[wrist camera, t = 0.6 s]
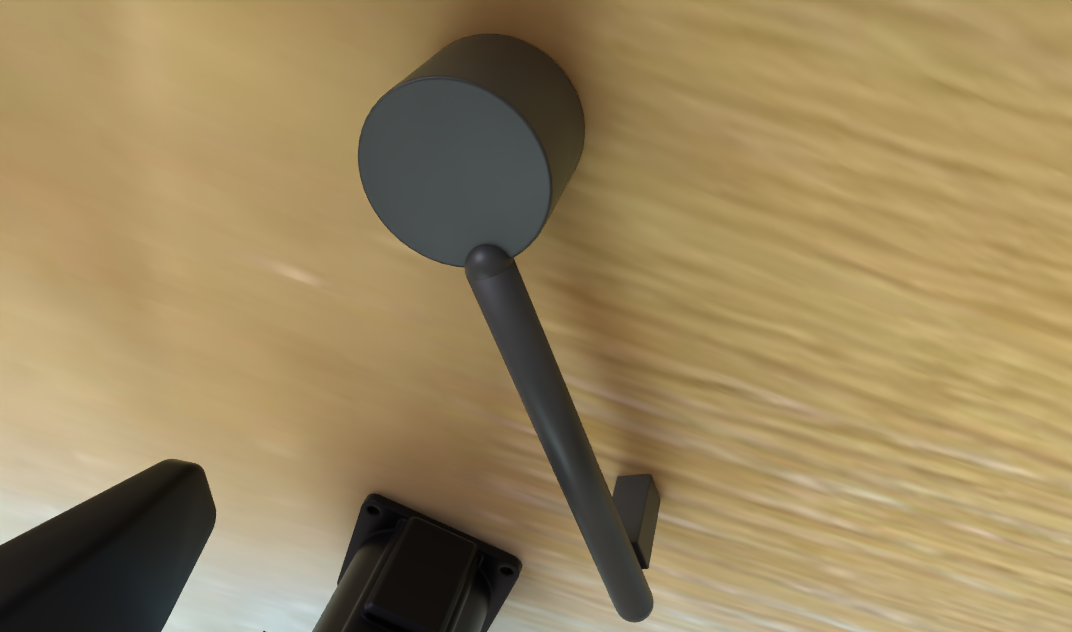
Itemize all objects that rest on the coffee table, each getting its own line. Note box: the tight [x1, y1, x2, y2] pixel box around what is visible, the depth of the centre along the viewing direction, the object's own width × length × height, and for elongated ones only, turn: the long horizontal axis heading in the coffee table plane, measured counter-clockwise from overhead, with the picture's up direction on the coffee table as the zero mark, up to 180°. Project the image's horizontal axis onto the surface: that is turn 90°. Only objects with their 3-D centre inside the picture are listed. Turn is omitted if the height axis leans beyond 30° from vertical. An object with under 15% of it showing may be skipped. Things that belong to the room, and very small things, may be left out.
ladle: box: [358, 34, 660, 622], centre depth 21 cm, size 17×5×4 cm, turn 21°
